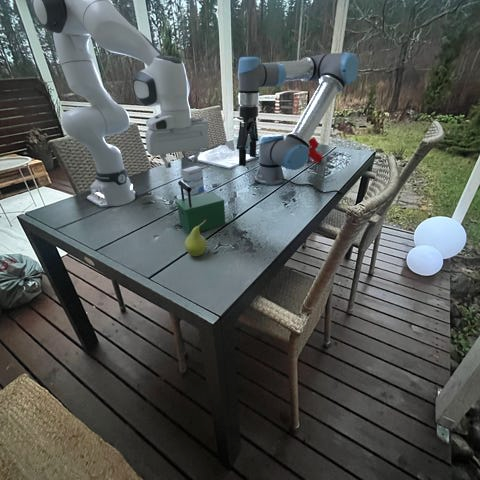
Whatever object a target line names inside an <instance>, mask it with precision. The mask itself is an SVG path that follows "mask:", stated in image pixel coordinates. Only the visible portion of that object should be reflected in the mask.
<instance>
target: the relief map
mask: <svg viewBox="0 0 480 480" xmlns="http://www.w3.org/2000/svg"><path fill="white" fill-rule="evenodd" d="M192 157H194V155H191V156H188V160H191V161H192ZM256 158H257V156H256V157H250V154H248V153H246V163H247V162H249V161H252V160H255V159H256ZM199 162H200V163H203V164H208V165H213V166H215V167H216V166H217V167H221V168H225V169H230V170H231V169H233V168H236V167H239V149H237V148H236V149H235V150H232V149H230V148H229V147H228V146H227V145H226V144H224V145H223V144H220V145H217V147H214V148H212V149H209V150H205V151H200V154H199V156H198V163H199Z"/></svg>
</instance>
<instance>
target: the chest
mask: <svg viewBox="0 0 480 480" xmlns="http://www.w3.org/2000/svg"><path fill="white" fill-rule="evenodd" d="M225 207H226V206H225V202H224V203H221V204H217V205H213V206H210V207H206V208H202V209H198V210H195V211H191V212H187V213H185V212H184V211H183V210H182V209H181V208H180V207H179V206H178V205H177V211H178V212H177V213H178V217H179V218H178V219H179V224H180V226H181V227H182V228H183V229H184V231H186V232H187V234H188V235H190V233H191V231H192V230H193V229H194V228H195V227H196V226H199V225H200V224H201V223H202V222H204V220H205V219H206V222H205V223H203V224H202V225H201V226H200V227H199V232H200V233H202V232H205V231H208V230H210V229H214V228H217V227H220V226H223V225H226V210H225Z"/></svg>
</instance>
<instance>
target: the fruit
mask: <svg viewBox="0 0 480 480" xmlns="http://www.w3.org/2000/svg"><path fill="white" fill-rule="evenodd" d="M205 222H206V219H205V220H204V222H202V223H201V224H200V225H199V226H196V227H195V228H194V229H193V230H192V231H191V233H190V234H188V236H187V237H186V238H185V241H184V248H185V251H186V252H187V253H188V254H189V256H193V257H199V256H200V257H201V256H202V255H203V254H204V253H205V251H206V250H207V247H208V242H207V239H206V238H205V237H204V236H203V235H201V232H199V227H200V226H201V225H202V224H203V223H205Z"/></svg>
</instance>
